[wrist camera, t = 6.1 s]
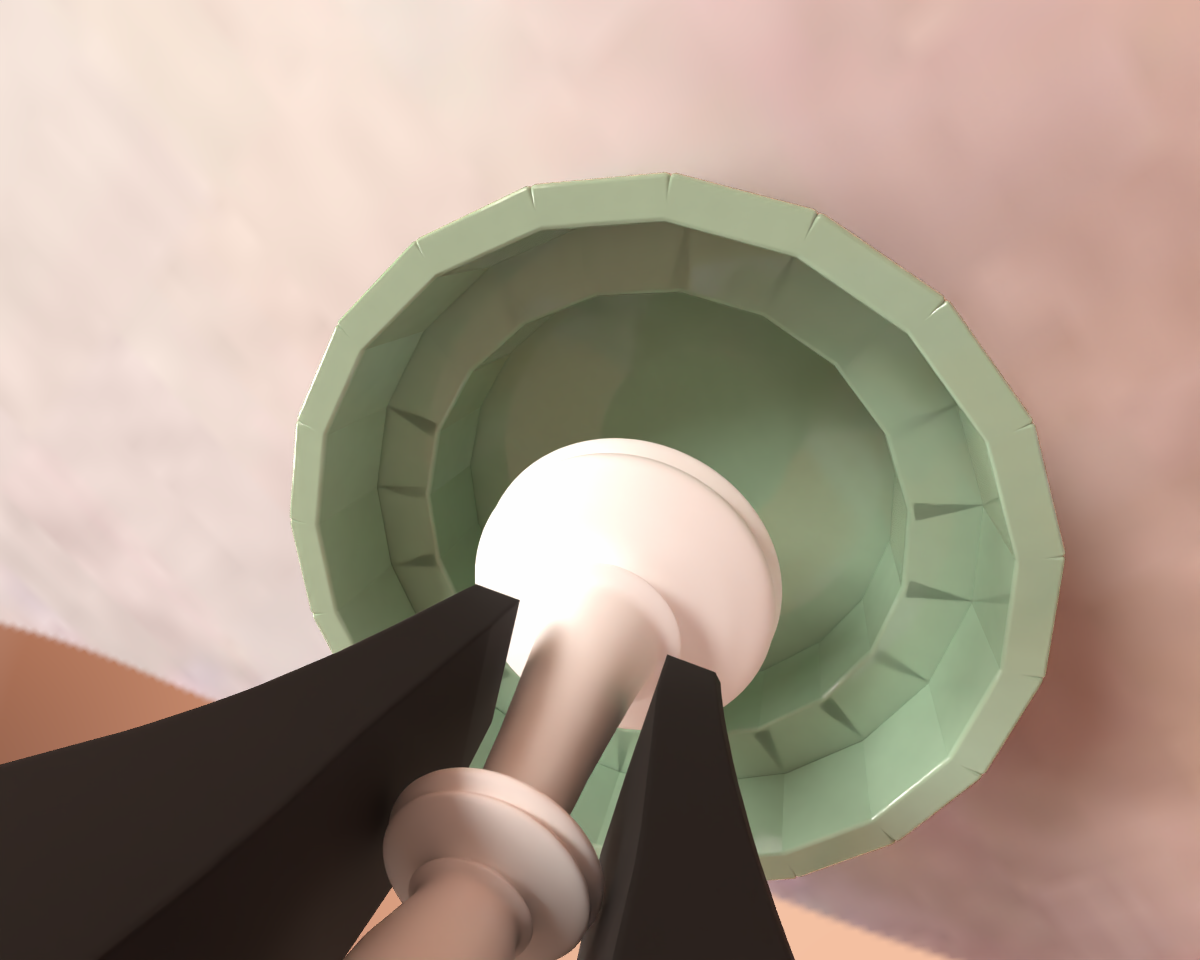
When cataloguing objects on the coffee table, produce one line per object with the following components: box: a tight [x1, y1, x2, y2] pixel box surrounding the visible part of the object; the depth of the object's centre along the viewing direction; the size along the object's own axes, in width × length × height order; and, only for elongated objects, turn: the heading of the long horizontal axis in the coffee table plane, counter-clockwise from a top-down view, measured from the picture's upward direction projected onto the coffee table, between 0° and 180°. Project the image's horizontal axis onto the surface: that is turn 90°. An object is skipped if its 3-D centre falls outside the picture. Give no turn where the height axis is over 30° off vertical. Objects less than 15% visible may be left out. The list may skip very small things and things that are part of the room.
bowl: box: [290, 172, 1065, 880], centre depth 13 cm, size 12×12×4 cm
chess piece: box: [343, 438, 782, 960], centre depth 7 cm, size 5×5×10 cm
